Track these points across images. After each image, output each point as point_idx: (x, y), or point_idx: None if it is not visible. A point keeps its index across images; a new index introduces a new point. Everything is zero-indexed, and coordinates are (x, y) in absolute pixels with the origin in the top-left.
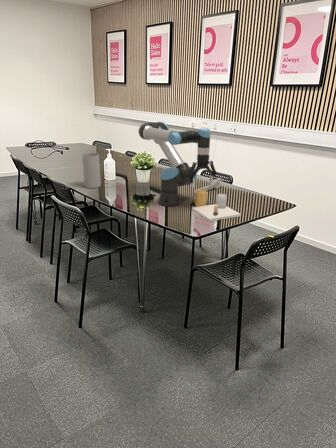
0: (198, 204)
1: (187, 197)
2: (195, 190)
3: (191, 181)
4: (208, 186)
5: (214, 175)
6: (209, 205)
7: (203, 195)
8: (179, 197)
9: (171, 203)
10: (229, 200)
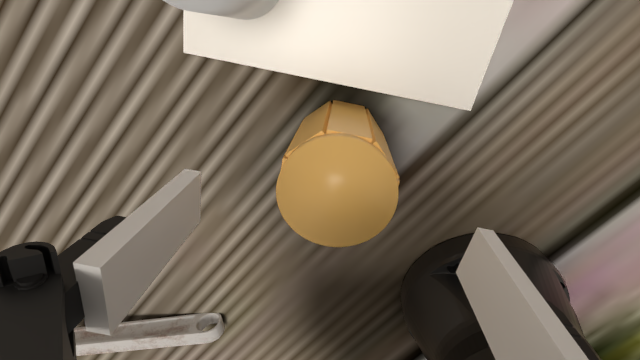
0: (380, 132)
1: (302, 304)
2: (209, 341)
3: (568, 324)
4: (95, 342)
5: (18, 252)
6: (311, 67)
7: (353, 130)
8: (444, 285)
9: (536, 254)
10: (65, 108)
